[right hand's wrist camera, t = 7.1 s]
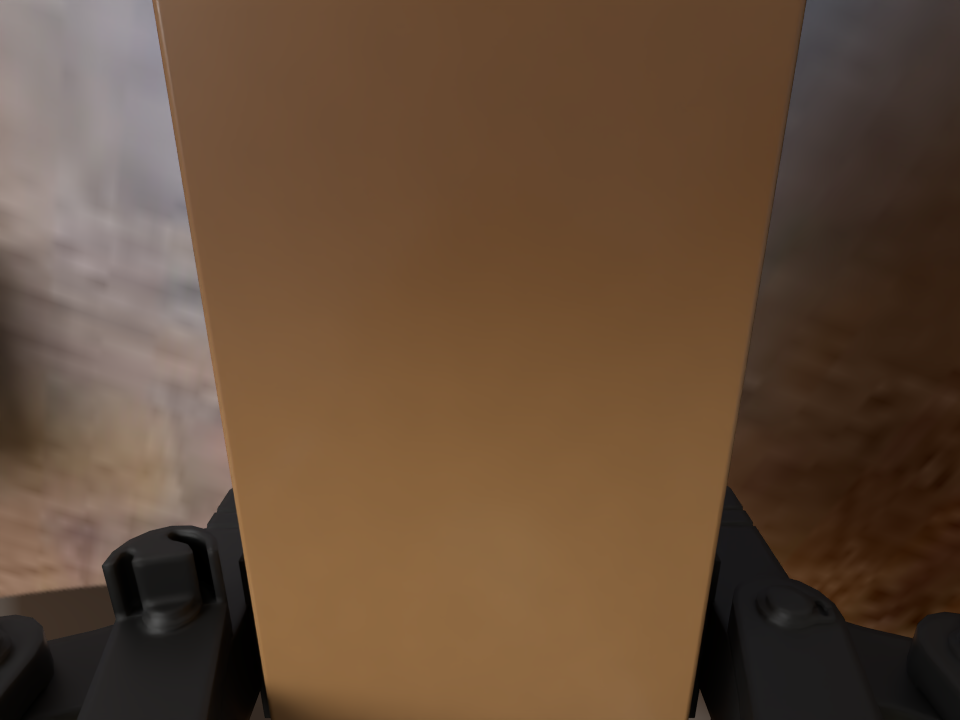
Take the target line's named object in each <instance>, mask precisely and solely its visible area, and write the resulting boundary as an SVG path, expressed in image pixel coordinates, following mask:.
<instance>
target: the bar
mask: <svg viewBox="0 0 960 720" xmlns="http://www.w3.org/2000/svg"><path fill="white" fill-rule="evenodd" d="M152 1H153V7H154V13H155V19H156V25H157V31H158V37H159V43H160V49H161V56H162V62H163V68H164V74H165V80H166V86H167V92H168V98H169V104H170V110H171V116H172V122H173V128H174V134H175V140H176V147H177V153H178V159H179V165H180V171H181V177H182V183H183V189H184V195H185V201H186V207H187V213H188V219H189V225H190V231H191V238H192V244H193V250H194V256H195V262H196V268H197V274H198V280H199V286H200V292H201V298H202V304H203V310H204V316H205V322H206V328H207V335H208V341H209V347H210V353H211V359H212V365H213V371H214V377H215V383H216V389H217V395H218V401H219V407H220V413H221V419H222V426H223V432H224V438H225V444H226V450H227V456H228V462H229V468H230V474H231V480H232V486H233V492H234V498H235V504H236V510H237V517H238V523H239V529H240V535H241V541H242V547H243V553H244V559H245V565H246V571H247V577H248V583H249V589H250V595H251V601H252V608H253V614H254V620H255V626H256V632H257V638H258V644H259V650H260V656H261V662H262V668H263V674H264V680H265V686H266V692H267V698H268V705H269V711H270V717H271V720H688V718H689V712H690V706H691V700H692V694H693V688H694V682H695V676H696V670H697V664H698V658H699V651H700V645H701V639H702V633H703V627H704V621H705V615H706V609H707V603H708V597H709V591H710V585H711V578H712V572H713V566H714V560H715V554H716V548H717V542H718V536H719V530H720V524H721V518H722V511H723V505H724V499H725V493H726V487H727V481H728V475H729V469H730V463H731V457H732V451H733V444H734V438H735V432H736V426H737V420H738V414H739V408H740V402H741V396H742V390H743V384H744V378H745V371H746V365H747V359H748V353H749V347H750V341H751V335H752V329H753V323H754V317H755V311H756V304H757V298H758V292H759V286H760V280H761V274H762V268H763V262H764V256H765V250H766V244H767V237H768V231H769V225H770V219H771V213H772V207H773V201H774V195H775V189H776V183H777V177H778V171H779V164H780V158H781V152H782V146H783V140H784V134H785V128H786V122H787V116H788V110H789V104H790V97H791V91H792V85H793V79H794V73H795V67H796V61H797V55H798V49H799V43H800V37H801V31H802V24H803V18H804V12H805V6H806V0H152Z"/></svg>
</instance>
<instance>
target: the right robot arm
mask: <svg viewBox="0 0 960 720" xmlns="http://www.w3.org/2000/svg"><path fill="white" fill-rule="evenodd" d="M102 568H103V572H104V576H105V580H106V584H107V587H108V591H109V595H110V598H111V602H112V606H113V610H114V614H115V617H116V621H115V623H114V625H110V626H107V627H104V628H100V629H97V630H93V631H89V632H84V633H80V634H76V635H71V636H67V637H63V638H59V639H54V640H50V641H47V639H46V636H45V633H44V630H43V627H42V626H41V625H40V624H39V623H38V622H37V621H36V620H35V619H34V618H31V617H25V616H20V615H10V616H2V617H0V720H249V719H250V716H251V714H252V711H253V708H254V706H255V703H256V700H257V698H258V695H259V692H261V698H262V704H263V710H264V715H265V718H271V717H270V711H269V705H268V698H267V692H266V686H265V680H264V674H263V668H262V662H261V656H260V650H259V644H258V638H257V632H256V626H255V620H254V614H253V608H252V601H251V595H250V589H249V583H248V577H247V571H246V565H245V559H244V553H243V547H242V541H241V535H240V529H239V523H238V517H237V510H236V504H235V498H234V492H233V488H232V489H230V490H229V492H228V493H227V495H226V496H225V498H224V499H223V501H222V502H221V504H220V506H219V507H218V509H217V513H214V515H213V516H212V518H211V519H210V521H209V522H208V524H207V528H205V529H203V528H199V527H195V526H169V527H165V528H161V529H156V530H152V531H149V532H146V533H144V534H142V535H140V536H137V537H135V538H133V539H130V540H129V541H127V542H126V543H124V544H123V545H122V546H120V547H119V548H117V549H116V550H115V551H113V552H112V553H111V555H110V556H109V557H108V558H107V560H106V561H105V562H104V564H103V565H102ZM699 689H700V690H701V693H702V696H703V698H704V701H705V703H706V706H707V709H708V711H709V714H710V717H711V720H960V614H957V613H949V612H942V613H936V614H930V615H927V616H926V617H925V618H924V619H922V620H921V621H920V622H919V623H918V625H917V628H916V631H915V634H914V637H913V638H909V637H905V636H900V635H896V634H892V633H887V632H883V631H878V630H874V629H870V628H865V627H862V626H858V625H855V624H852V623H848V622H846V621H845V619H844V618H843V616H842V614H841V613H840V611H839V610H838V608H837V607H836V605H835V604H834V603H833V602H832V601H830V600H829V599H828V598H827V597H825V596H824V595H823V594H822V593H821V592H819V591H818V590H816V589H814V588H812V587H810V586H808V585H806V584H804V583H802V582H800V581H797V580H793V579H790V578H789V577H788V575H787V574H786V572H785V571H784V569H783V568H782V566H781V565H780V563H779V562H778V560H777V559H776V557H775V555H774V554H773V552H772V551H771V549H770V548H769V546H768V545H767V543H766V542H765V540H764V539H763V537H762V536H761V534H760V533H759V531H758V529H757V528H756V526H753V522H752V520H751V519H750V517H749V516H748V514H747V513H746V511H745V510H743V507H742V505H741V503H740V502H739V500H738V499H737V497H736V496H735V494H734V493H733V491H732V490H731V488H730V487H728V486H727V487H726V493H725V499H724V505H723V511H722V518H721V524H720V530H719V536H718V542H717V548H716V554H715V560H714V566H713V572H712V578H711V585H710V591H709V597H708V603H707V609H706V615H705V621H704V627H703V633H702V639H701V645H700V651H699V658H698V664H697V670H696V676H695V682H694V688H693V694H692V700H691V706H690V712H689V718H695V713H696V707H697V701H698V695H699Z"/></svg>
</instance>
